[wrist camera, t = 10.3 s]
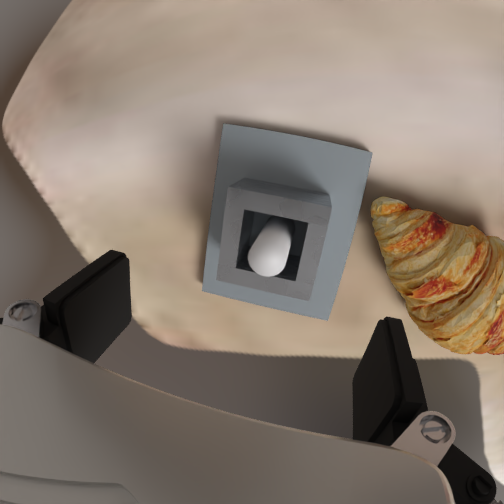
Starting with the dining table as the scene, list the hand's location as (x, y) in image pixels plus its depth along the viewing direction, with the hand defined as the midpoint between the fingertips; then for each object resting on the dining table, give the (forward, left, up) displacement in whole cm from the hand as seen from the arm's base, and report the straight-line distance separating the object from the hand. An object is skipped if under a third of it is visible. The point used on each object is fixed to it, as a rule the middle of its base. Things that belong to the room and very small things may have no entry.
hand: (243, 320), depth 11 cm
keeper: (+1, 0, -15) cm, 15 cm away
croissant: (+2, +16, -16) cm, 22 cm away
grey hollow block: (+1, 0, -14) cm, 14 cm away
